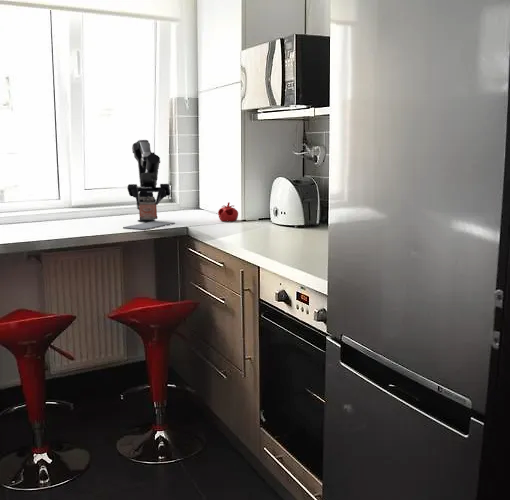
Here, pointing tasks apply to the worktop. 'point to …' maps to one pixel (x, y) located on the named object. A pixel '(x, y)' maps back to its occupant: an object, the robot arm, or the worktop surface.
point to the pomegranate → (228, 213)
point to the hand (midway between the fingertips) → (147, 204)
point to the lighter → (148, 208)
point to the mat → (148, 225)
